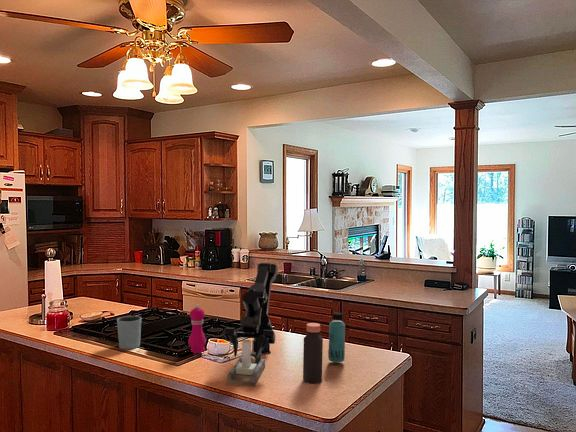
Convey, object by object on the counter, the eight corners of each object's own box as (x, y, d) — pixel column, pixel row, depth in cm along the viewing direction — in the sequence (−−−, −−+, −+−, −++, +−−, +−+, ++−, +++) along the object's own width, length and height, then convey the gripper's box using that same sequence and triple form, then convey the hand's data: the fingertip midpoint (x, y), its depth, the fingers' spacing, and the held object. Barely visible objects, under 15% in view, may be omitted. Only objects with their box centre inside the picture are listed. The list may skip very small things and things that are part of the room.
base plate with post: (239, 365, 185) (239, 351, 184) (265, 367, 183) (265, 353, 183) (226, 384, 166) (226, 368, 166) (255, 386, 165) (255, 370, 165)
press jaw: (239, 368, 177) (240, 338, 177) (256, 369, 177) (257, 339, 176) (235, 373, 171) (235, 343, 171) (253, 375, 171) (253, 344, 170)
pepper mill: (206, 349, 204) (207, 302, 203) (204, 355, 197) (204, 306, 196) (189, 349, 204) (190, 302, 203) (186, 355, 196) (187, 306, 196)
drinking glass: (131, 351, 200) (131, 322, 200) (111, 348, 203) (111, 320, 203) (146, 344, 210) (146, 316, 209) (126, 341, 213) (126, 314, 212)
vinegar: (308, 385, 167) (309, 328, 166) (299, 378, 173) (300, 323, 172) (325, 382, 170) (326, 326, 169) (316, 375, 176) (317, 321, 175)
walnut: (254, 363, 183) (254, 354, 183) (256, 366, 180) (256, 357, 180) (244, 364, 182) (244, 354, 182) (246, 367, 179) (246, 358, 179)
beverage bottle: (335, 359, 194) (336, 310, 193) (348, 363, 189) (349, 313, 188) (324, 363, 189) (325, 312, 188) (337, 367, 184) (338, 315, 184)
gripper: (224, 305, 178) (215, 344, 168) (274, 308, 176) (268, 347, 165) (230, 321, 186) (221, 359, 176) (277, 324, 184) (272, 362, 173)
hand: (245, 356), depth 172 cm, fingers open, 7 cm apart
